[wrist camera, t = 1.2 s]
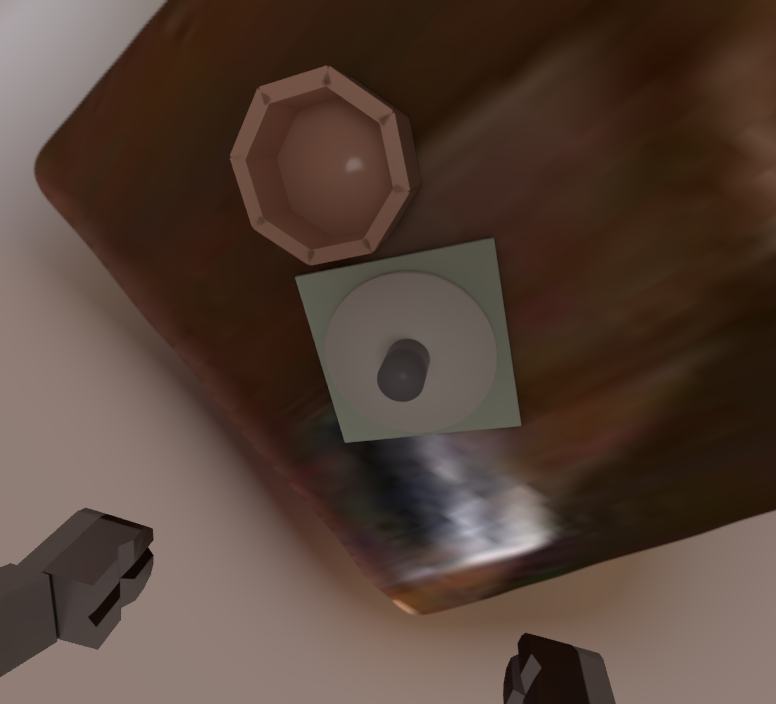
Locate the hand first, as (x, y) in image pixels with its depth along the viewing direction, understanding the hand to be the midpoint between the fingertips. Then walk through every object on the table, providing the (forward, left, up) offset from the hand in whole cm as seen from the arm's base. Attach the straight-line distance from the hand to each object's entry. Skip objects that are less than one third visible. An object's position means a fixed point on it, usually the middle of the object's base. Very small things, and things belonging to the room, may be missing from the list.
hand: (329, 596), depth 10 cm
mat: (+4, +6, -30) cm, 30 cm away
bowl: (+6, -9, -30) cm, 31 cm away
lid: (+4, +6, -29) cm, 30 cm away
